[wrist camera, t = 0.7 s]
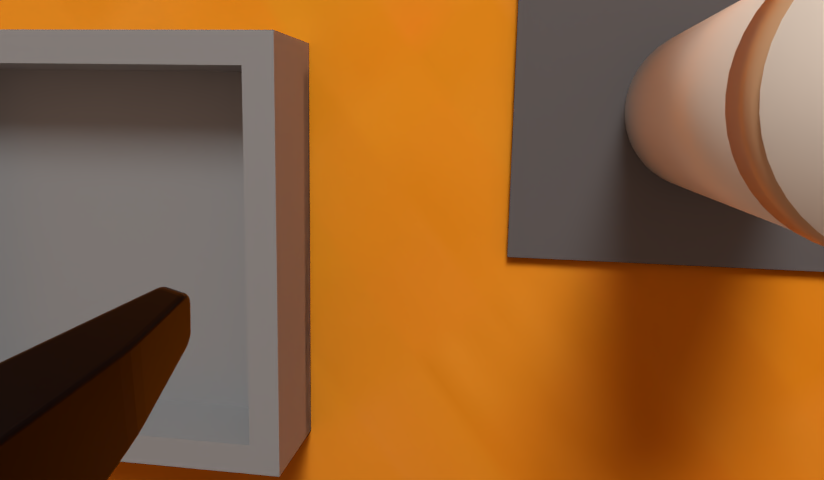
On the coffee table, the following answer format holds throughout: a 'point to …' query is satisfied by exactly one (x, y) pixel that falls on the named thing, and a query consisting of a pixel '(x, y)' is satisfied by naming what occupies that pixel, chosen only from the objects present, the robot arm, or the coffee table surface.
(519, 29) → the mat
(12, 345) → the bin
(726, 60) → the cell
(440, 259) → the coffee table surface
